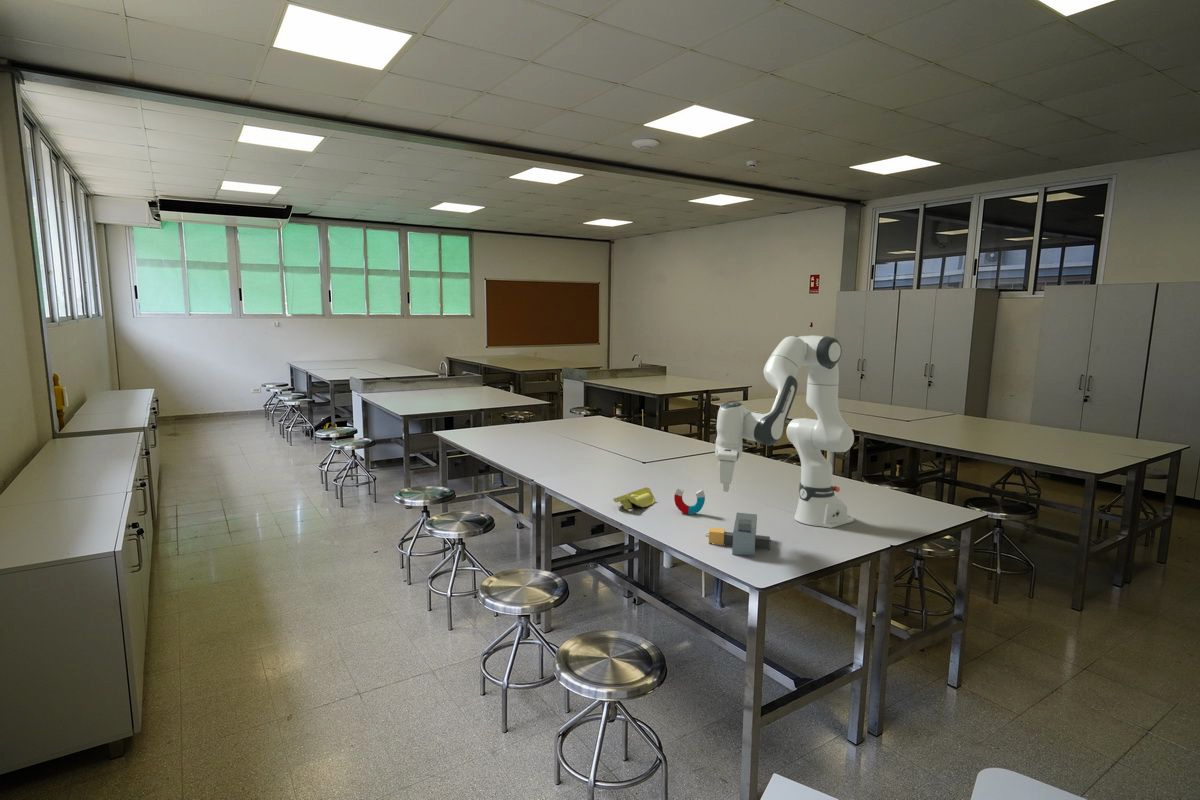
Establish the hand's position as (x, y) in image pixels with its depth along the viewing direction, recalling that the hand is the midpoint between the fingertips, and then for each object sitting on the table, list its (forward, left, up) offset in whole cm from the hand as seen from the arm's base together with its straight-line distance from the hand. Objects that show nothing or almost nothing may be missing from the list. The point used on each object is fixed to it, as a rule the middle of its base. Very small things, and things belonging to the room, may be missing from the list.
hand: (726, 490), depth 204 cm
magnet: (-6, -32, -19) cm, 38 cm away
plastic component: (+11, -49, -19) cm, 54 cm away
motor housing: (-6, +4, -19) cm, 20 cm away
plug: (-4, +3, -19) cm, 19 cm away
